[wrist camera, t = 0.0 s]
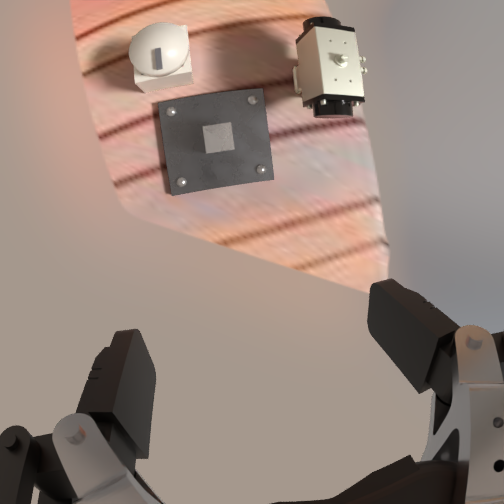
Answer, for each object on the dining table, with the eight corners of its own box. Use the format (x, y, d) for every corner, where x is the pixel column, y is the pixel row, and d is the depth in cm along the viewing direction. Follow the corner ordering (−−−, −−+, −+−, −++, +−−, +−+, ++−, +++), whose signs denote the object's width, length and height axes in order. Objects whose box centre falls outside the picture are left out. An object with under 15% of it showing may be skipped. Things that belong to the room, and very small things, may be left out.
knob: (141, 52, 28) (126, 28, 20) (188, 42, 29) (185, 15, 21) (145, 93, 30) (129, 78, 22) (193, 83, 31) (190, 65, 23)
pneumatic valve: (291, 122, 35) (330, 112, 23) (283, 42, 30) (315, 6, 19) (330, 122, 35) (378, 115, 24) (321, 45, 31) (364, 15, 20)
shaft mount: (159, 104, 31) (150, 95, 26) (261, 89, 32) (271, 79, 27) (172, 194, 35) (167, 203, 30) (272, 178, 37) (284, 184, 31)
